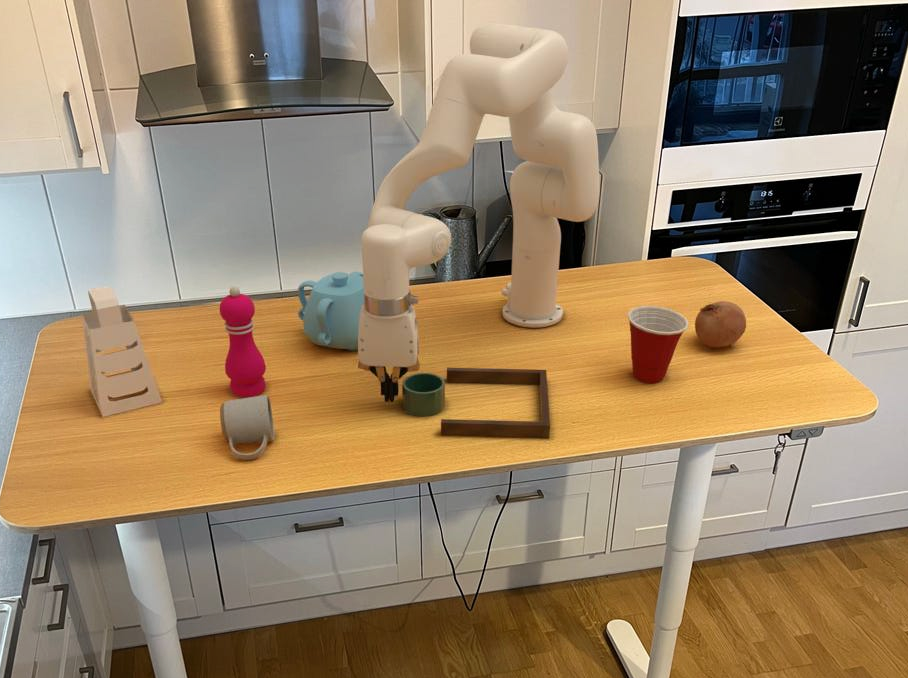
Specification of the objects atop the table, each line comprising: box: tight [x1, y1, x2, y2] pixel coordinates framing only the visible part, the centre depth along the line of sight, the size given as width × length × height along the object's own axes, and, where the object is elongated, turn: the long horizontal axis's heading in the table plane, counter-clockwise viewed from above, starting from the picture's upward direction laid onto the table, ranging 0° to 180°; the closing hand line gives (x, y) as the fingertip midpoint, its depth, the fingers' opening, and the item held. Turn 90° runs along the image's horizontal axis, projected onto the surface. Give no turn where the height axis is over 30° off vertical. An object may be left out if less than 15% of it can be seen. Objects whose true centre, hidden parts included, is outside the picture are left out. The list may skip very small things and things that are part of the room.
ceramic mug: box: [219, 394, 275, 461], centre depth 152 cm, size 11×8×8 cm
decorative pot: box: [297, 270, 364, 351], centre depth 182 cm, size 16×16×14 cm
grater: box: [81, 285, 163, 418], centre depth 162 cm, size 10×10×20 cm
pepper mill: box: [219, 286, 267, 398], centre depth 164 cm, size 7×7×20 cm
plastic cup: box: [627, 305, 689, 384], centre depth 168 cm, size 11×11×12 cm
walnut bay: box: [440, 367, 551, 439], centre depth 163 cm, size 18×19×2 cm
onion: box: [694, 300, 747, 349], centre depth 180 cm, size 10×9×10 cm
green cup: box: [401, 372, 446, 417], centre depth 163 cm, size 7×7×5 cm
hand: (389, 398), depth 163 cm, fingers closed
